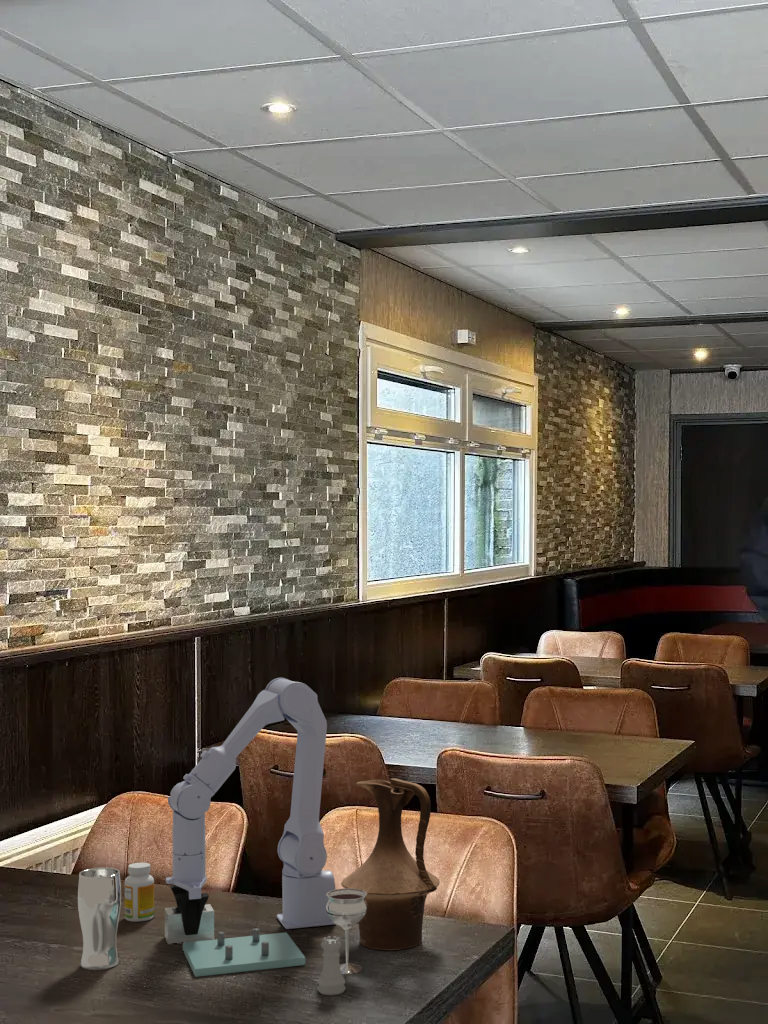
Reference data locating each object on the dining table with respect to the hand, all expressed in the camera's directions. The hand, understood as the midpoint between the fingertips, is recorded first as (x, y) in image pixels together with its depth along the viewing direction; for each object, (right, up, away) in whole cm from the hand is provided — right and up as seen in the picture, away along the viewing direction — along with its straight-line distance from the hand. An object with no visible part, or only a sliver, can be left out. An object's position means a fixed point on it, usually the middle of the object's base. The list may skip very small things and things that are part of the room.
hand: (189, 930), depth 219 cm
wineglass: (+28, -1, -16) cm, 33 cm away
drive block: (0, -1, 0) cm, 1 cm away
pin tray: (+10, -1, -10) cm, 15 cm away
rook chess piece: (+26, -1, -27) cm, 37 cm away
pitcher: (+35, -1, -3) cm, 36 cm away
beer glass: (-13, -1, -13) cm, 18 cm away
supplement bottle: (-11, -2, +12) cm, 17 cm away
